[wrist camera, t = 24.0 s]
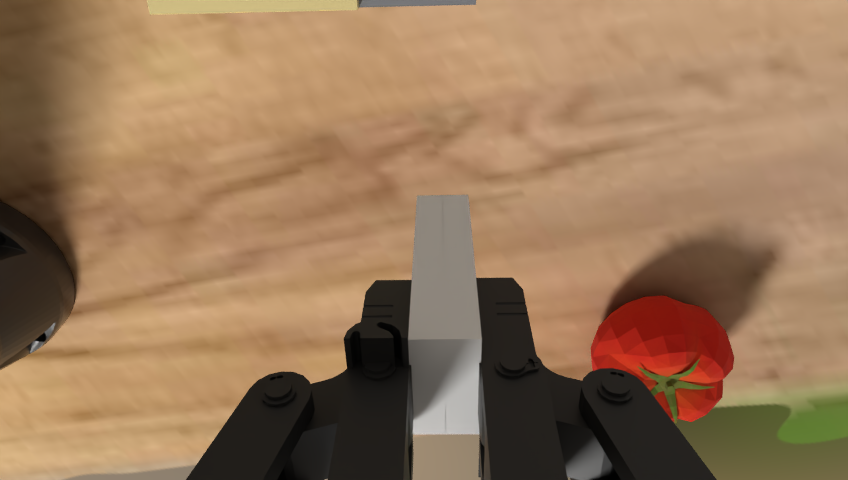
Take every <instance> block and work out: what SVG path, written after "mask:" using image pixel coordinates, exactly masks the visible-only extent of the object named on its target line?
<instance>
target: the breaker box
mask: <svg viewBox="0 0 848 480" xmlns="http://www.w3.org/2000/svg"><path fill="white" fill-rule="evenodd" d="M147 4H148V8H149V13H150V15H161V14H205V13H249V12H293V11H337V10H358V8H359V7H393V6H436V5H476V0H147Z"/></svg>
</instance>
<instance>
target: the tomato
mask: <svg viewBox="0 0 848 480" xmlns="http://www.w3.org/2000/svg"><path fill="white" fill-rule="evenodd" d="M591 358H592V368H593V371H594V370H597V369H600V368H614V369H619V370H623V371H626V372H628V373H630V374H632V375H634V376H636V377H637V378H639V379H640V380H641V381H642V382H643V383H644V384H645V385H646V386H647V388H648V389H649V390H650V392H651V393H652V394H653V396H654V397H655V398H656V400H657V401H658V402H659V404H660V405H661V406H662V408H663V409H664V410H665V412H666V413H667V414H668V416H669V417H670V418H671V420H672V421H675V424H676V423H677V419H682V420H686V421H690V422H692V421H694V420H696V419H698V418H700V417H702V416H704V415H706V414H707V413H708V412H709V411H710V410H711V409H712V408H713V407H714V406H715V405H716V404H717V403H718V401H719V400H720V399H721V398H722V393H723V378H725V377H726V376H727V375H728V373H729V372H730V371H731V370H732V369H733V363H734V355H733V352H732V349H731V345H730V342H729V339H728V336H727V334H726V331H725V330H724V329H723V327H722V326H721V325H720V324H719V323H718V322H717V321H716V320H715V318H714V317H713V316H712V315H711V314H710V313H709V312H708V311H707V310H706V309H704V308H701V307H699V306H696V305H690V304H685V303H682V302H680V301H677V300H674V299H671V298H669V297H667V296H665V295H664V296H648V297H642V298H640V299H637V300H634V301H631V302H628V303H626V304H624V305H623V306H621V307H620V308H618V309H617V310H615V311H614V312H612V313H611V314H610V315H609V316H608V317H607V318H606V319H605V320H604V321H603V323H602V324H601V325H600V326H599V328H598V330H597V333H596V335H595V338H594V340H593V343H592V346H591Z"/></svg>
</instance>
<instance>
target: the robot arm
mask: <svg viewBox="0 0 848 480" xmlns="http://www.w3.org/2000/svg"><path fill="white" fill-rule="evenodd" d="M74 296H75V290H74V282H73V278H72V274H71V271H70V269H69V266H68V264H67V262H66V260H65V258H64V256H63V255H62V253H61V252H60V250H59V249H58V247H57V246H56V245H55V243H54V242H53V241H52V240H51V239H50V237H49V236H48V235H47V234H46V233H45V232H44V231H43V230H42V229H41V228H39V227H38V226H37V225H36V224H35V223H34V222H32V221H31V220H30V219H28V218H27V217H26V216H24V215H23V214H21V213H20V212H18V211H17V210H15V209H13V208H11V207H10V206H8V205H6V204H4V203H2V202H0V370H2V369H3V368H5V367H7V366H9V365H11V364H12V363H14V362H16V361H18V360H19V359H21V358H23V357H25V356H27V355H28V354H30V353H32V352H34V351H36V350H37V349H39V348H40V347H42V346H43V345H44V344H46V343H47V342H48V341H49V340H50V339H51V338H52V337H53V336H54V335H55V333H56V332H57V331H58V330H59V329H60V327H61V326H62V325H63V324H64V322H65V321H66V320H67V318H68V317H69V315H70V313H71V310H72V308H73V304H74ZM344 344H345V353H346V362H347V369H346V370H345V371H344V372H343V373H341V374H339V375H338V376H336V377H334V378H331V379H328V380H325V381H321V382H317V383H313V384H310V382H309V381H308V380H307V379H306V378H305V377H304V376H303V375H300V374H297V373H294V372H278V373H274V374H269V375H267V376H265V377H263V378H262V379H260V380H258V381H257V382H256V383H255V384H254V385H253V386H252V387H251V388H250V389H249V390H248V392H247V393H246V395H245V396H244V398H243V399H242V400H241V402H240V403H239V405H238V406H237V408H236V409H235V410H234V412H233V413H232V415H231V416H230V418H229V419H228V420H227V422H226V423H225V425H224V426H223V428H222V429H221V431H220V432H219V433H218V435H217V436H216V438H215V439H214V441H213V442H212V443H211V445H210V446H209V448H208V449H207V451H206V452H205V453H204V455H203V456H202V458H201V459H200V461H199V462H198V463H197V465H196V466H195V468H194V469H193V471H192V472H191V474H190V475H189V476H188V478H187V479H186V480H324V479H327V478H328V480H412V474H413V434H479V435H480V443H479V477H481V480H568V478H567V477H570V479H571V480H716V478H715V477H714V476H713V474H712V473H711V472H710V470H709V469H708V468H707V466H706V465H705V464H704V462H703V461H702V460H701V458H700V457H699V456H698V455H697V453H696V452H695V450H694V449H693V448H692V446H691V445H690V444H689V442H688V441H687V440H686V439H685V437H684V436H683V434H682V433H681V432H680V430H679V429H678V428H677V426H676V425H675V424H674V422H673V421H672V420H671V418H670V417H669V416H668V414H667V413H666V412H665V410H664V409H663V408H662V406H661V405H660V404H659V402H658V401H657V400H656V398H655V397H654V396H653V394H652V393H651V392H650V390H649V389H648V388H647V386H646V385H645V384H644V383H643V382H642V381H641V380H640V379H639V378H637V377H636V376H634V375H632V374H630V373H628V372H626V371H623V370H619V369H614V368H600V369H597V370H594V371H592V372H590V373H588V374H587V375H586V376H585V377H584V378H583V381H580V380H576V379H572V378H567V377H564V376H561V375H558V374H556V373H554V372H552V371H550V370H549V369H547V368H546V367H545V366H544V365H543V364H542V362H541V360H540V359H539V358H538V357H537V355H536V352H535V347H534V342H533V337H532V332H531V327H530V322H529V317H528V312H527V308H526V305H525V298H524V293H523V289H522V288H521V287H520V286H519V284H518V283H517V282H516V281H515V280H514V279H513V278H476V272H475V261H474V251H473V240H472V230H471V219H470V208H469V198H468V195H430V196H417V205H416V221H415V237H414V253H413V268H412V280H376V281H375V282H374V283H373V284H372V286H371V287H370V288H369V289H368V290H367V291H366V295H365V300H364V308H363V312H362V318H361V322H360V323H357V324H355V325H354V326H353V327H352V328H350V329H349V330H348V331H347V333H346V335H345V337H344Z"/></svg>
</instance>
